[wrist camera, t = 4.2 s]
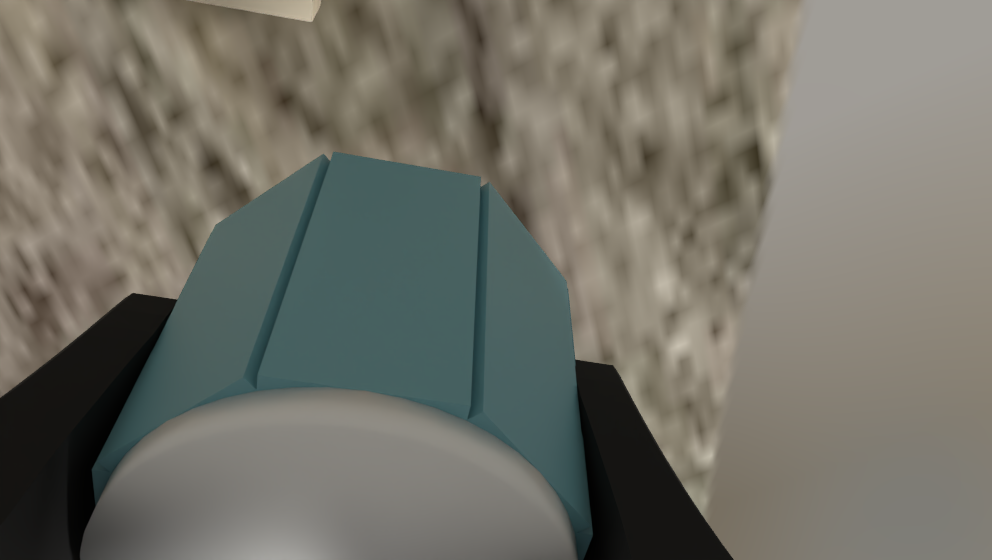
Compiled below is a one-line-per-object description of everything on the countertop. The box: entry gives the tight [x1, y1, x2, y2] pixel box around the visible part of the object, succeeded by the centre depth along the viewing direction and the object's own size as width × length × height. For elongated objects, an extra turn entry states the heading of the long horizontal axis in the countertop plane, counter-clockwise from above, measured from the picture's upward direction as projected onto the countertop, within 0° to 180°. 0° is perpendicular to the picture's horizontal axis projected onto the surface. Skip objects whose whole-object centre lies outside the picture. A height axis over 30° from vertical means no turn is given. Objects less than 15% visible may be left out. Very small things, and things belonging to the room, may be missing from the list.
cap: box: [80, 152, 593, 560], centre depth 11 cm, size 5×5×5 cm
